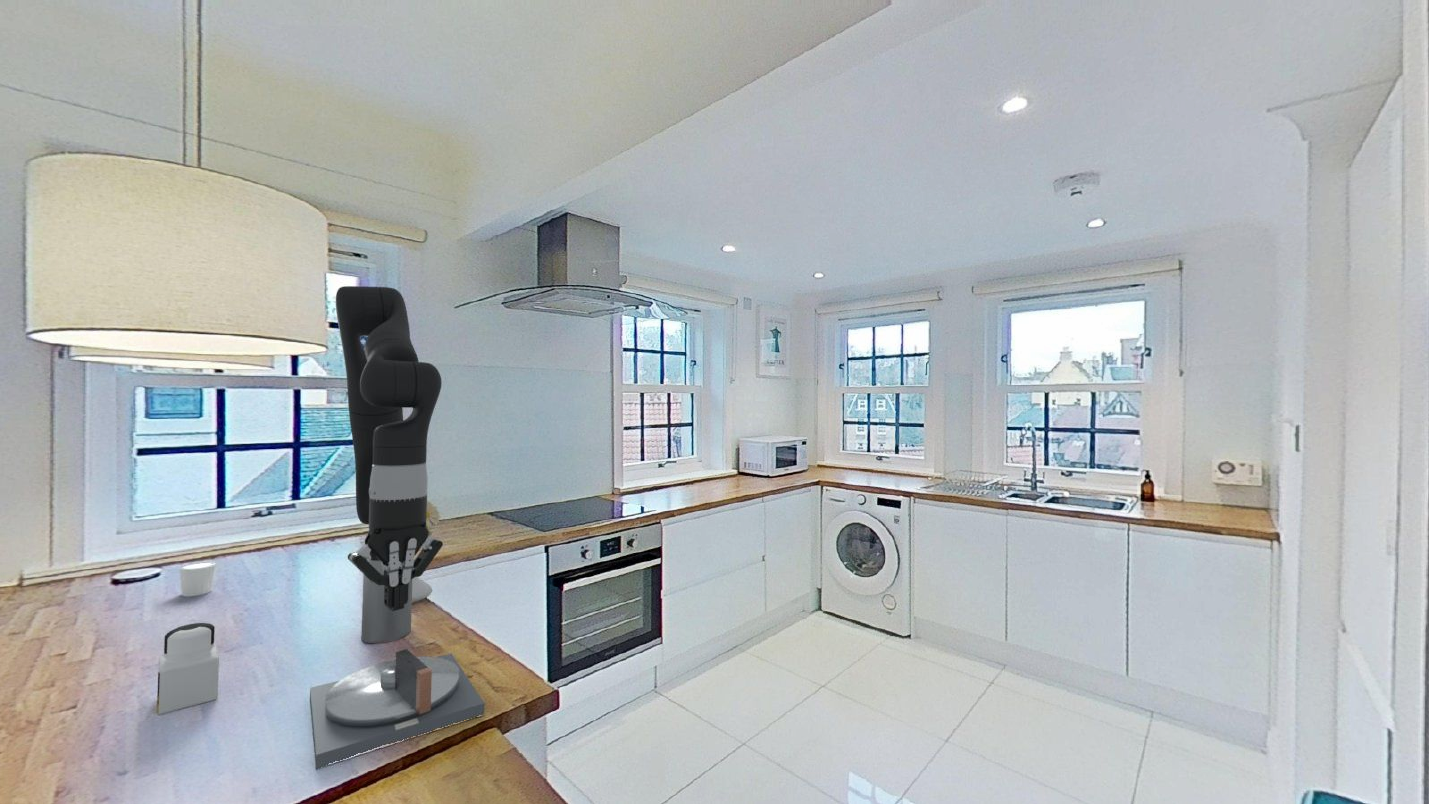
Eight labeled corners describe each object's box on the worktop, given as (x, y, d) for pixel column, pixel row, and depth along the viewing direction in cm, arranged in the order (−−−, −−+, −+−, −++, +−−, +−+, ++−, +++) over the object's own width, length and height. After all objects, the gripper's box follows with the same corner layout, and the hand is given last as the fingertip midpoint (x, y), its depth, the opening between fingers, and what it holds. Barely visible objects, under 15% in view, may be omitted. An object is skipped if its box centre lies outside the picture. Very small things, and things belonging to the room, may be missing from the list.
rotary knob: (311, 692, 89) (312, 647, 89) (433, 655, 103) (434, 615, 103) (350, 751, 74) (352, 696, 74) (486, 698, 88) (487, 652, 88)
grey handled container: (158, 698, 91) (160, 626, 91) (215, 683, 96) (218, 615, 96) (156, 716, 86) (159, 640, 86) (217, 699, 91) (220, 628, 91)
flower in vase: (392, 611, 130) (395, 507, 130) (373, 600, 137) (376, 502, 137) (447, 597, 140) (449, 501, 141) (426, 587, 147) (428, 496, 148)
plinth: (309, 699, 91) (310, 686, 91) (451, 663, 105) (451, 652, 105) (315, 769, 74) (316, 753, 74) (484, 715, 88) (484, 701, 88)
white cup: (207, 595, 138) (208, 568, 138) (172, 598, 135) (173, 570, 136) (220, 587, 144) (221, 560, 144) (187, 589, 142) (187, 563, 142)
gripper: (358, 502, 74) (355, 629, 74) (454, 491, 84) (452, 602, 84) (339, 495, 78) (335, 615, 78) (432, 486, 89) (430, 591, 89)
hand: (396, 608), depth 81 cm, fingers closed
